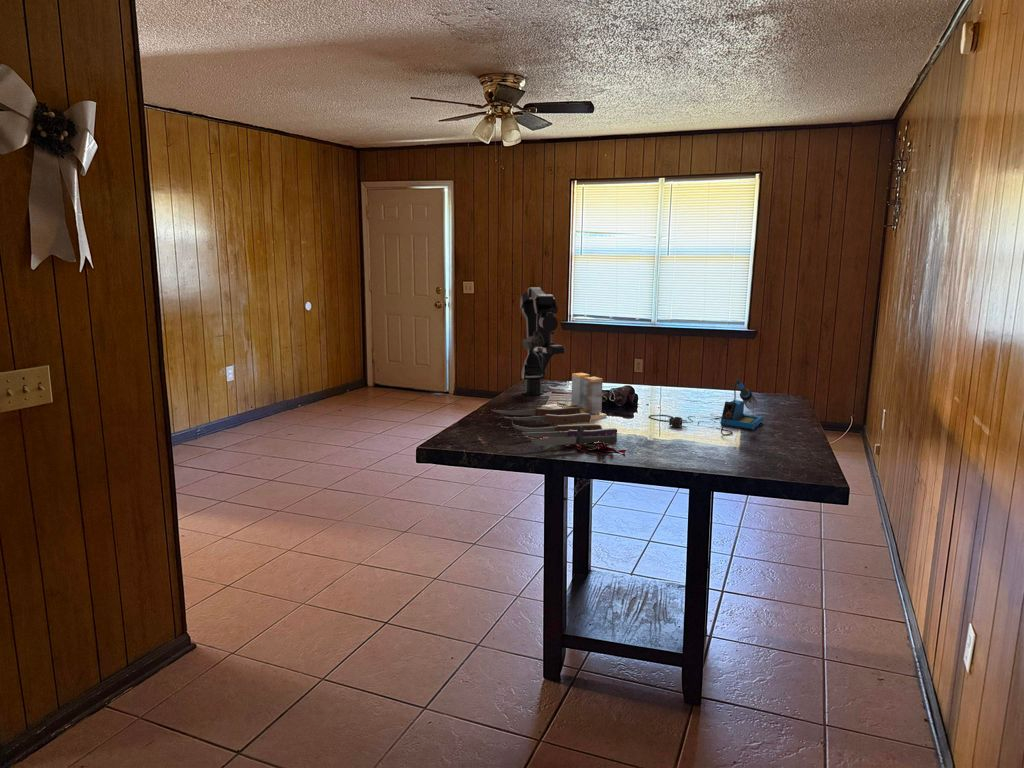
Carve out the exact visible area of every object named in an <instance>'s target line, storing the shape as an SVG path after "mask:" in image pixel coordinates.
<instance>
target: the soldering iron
mask: <svg viewBox="0 0 1024 768" xmlns="http://www.w3.org/2000/svg"><path fill="white" fill-rule="evenodd" d="M736 387H738V389H739V391H740V392H739V398H740V399H741V400H738V399H737V400H736V398H737V395H736V391H737V390H736V389H737V388H736ZM733 389H734V390H733V393H734V399H733V400H730V401H725V402H724V405H723V410H722V413H721V416H718V415H715V417H714V414H713V413H712V414H710V416H712V417H713V419H711V417H709V416H708V417H707V416H706V417H705V416H701V418H706V419H707V418H708V419H711V421H712V422H713V423H715V424H717V422H716V421H715V420H719V419H720V422H719V424H720V425H721V426H722V428H721V427H720V428H719V427H713V426H710V427H709V426H707V428H708V429H709V428H711V429H715V428H716V430H720V429H721V430H720V434H721V435H722V436H731V435H733V434H734V433H733V431H731V430H729V429H725V428H724V427H729V428H730V427H731V428H736V427H737V429H742V428H745V429H744V430H748V429H753V428H755V427H756V426H758V425H759V424H760V423H762V424H763V416H761V415H760V416H759V415H754V414H746V413H744V411H745V407H746V408H747V409H749V410H752V412H754V411H755V410H754V409H755V408H756V407H757V406H758V404H759V403H758V400H757V399H756V397H755V395H754V393H752V391H751V390H750V389H748V388H746V387H745V385H744V384H743V382H742V381H741V380H740V379H737V380H736V381H735V384H734V387H733ZM655 416H659V417H661V416H662V417H668V419H669V420H668V419H666V420H664V419H658V418H654V417H655ZM648 418H649V419H651V420H655V421H659V422H668V426H672V427H673V428H675V429H680V428H684V429H687V426H684V425H683V424H684V423H685V424H691V423H694V420H692V419H691V418H694V416H688V417H687V419H688V420H689V421H688V420H687V419H683V418H682V417H681V416H680V417H679V416H675V417H673V416H671V415H668V414H650V415H648ZM701 422H702V423H704V421H700V420H699V421H698V422H697V426H700V425H699V424H700V423H701ZM707 423H708V424H710V422H709V421H708V422H707V421H706V424H707ZM760 425H761V424H760ZM760 425H759V426H760ZM759 426H758V427H759ZM707 428H706V429H707ZM756 428H757V427H756ZM756 428H755V429H756ZM724 430H725V432H729V433H725V434H724V433H723V431H724ZM753 430H754V429H753ZM730 434H731V435H730Z"/></svg>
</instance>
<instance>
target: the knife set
mask: <svg viewBox="0 0 1024 768" xmlns="http://www.w3.org/2000/svg"><path fill="white" fill-rule="evenodd" d="M491 411H492V412H494V413H496V414H501V415H510V416H503V418H504V419H507V420H511V424H512V427H513V428H514V429H517V430H519V431H522V432H521V435H524V436H529V437H540V438H534V439H530V441H531V442H532V443H534V444H535V445H536V446H540V447H547V446H548V447H549V446H558V445H576V444H578V445H579V447H580V446H581V445H582V446H583V445H585V444H584V443H590V442H598V441H599V442H604V443H608V444H609V445H616V444H617V442H618V438H617V435H618V428H611V427H610V428H603V427H602V425H600V424H597V423H591V421H592V420H591V415H590V414H589V413H581V414H580V408H579V407H566V408H555V409H546V408H541V407H535V408H534V409H533V408H532V409H519V410H498V409H491ZM528 415H530V416H528ZM512 416H513V417H512ZM517 416H522V417H517ZM523 416H524V417H523ZM537 420H538V421H539V420H540V422H541V423H545V425H555V426H546V427H525V426H520V425H516V424H514V422H513V421H537ZM541 437H542V438H541ZM546 437H551V438H546Z"/></svg>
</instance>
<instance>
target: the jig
mask: <svg viewBox="0 0 1024 768" xmlns="http://www.w3.org/2000/svg"><path fill="white" fill-rule="evenodd" d="M603 381H604V380H603V378H602V377H597V376H590V377H587V378H585V380H584V408H580V414H581V413H589V414H590V415H591V420H590V421H596V420H600V419H606V418H607V414H606V413H603V412H602V406H603V405H602V404H603ZM557 404H559V405H563V406H567V405H571V403H569V402H566V403H565V401H563V400H562V401H556V403H551V404H550V403H549V404H543V405H541V407H540V408H546V409H555V408H562V407H559V406H557Z"/></svg>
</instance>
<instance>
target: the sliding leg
mask: <svg viewBox="0 0 1024 768" xmlns="http://www.w3.org/2000/svg"><path fill="white" fill-rule="evenodd" d="M587 377H591V374H589V373H584V372H576V373H572V374H571V398H570V399H571V401H570V402H571V403H570V404H571V405H567V406H563V408H566V407H579V408H584V380H585V378H587Z"/></svg>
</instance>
